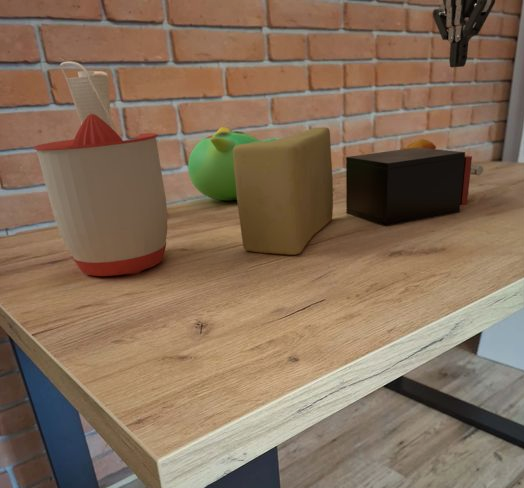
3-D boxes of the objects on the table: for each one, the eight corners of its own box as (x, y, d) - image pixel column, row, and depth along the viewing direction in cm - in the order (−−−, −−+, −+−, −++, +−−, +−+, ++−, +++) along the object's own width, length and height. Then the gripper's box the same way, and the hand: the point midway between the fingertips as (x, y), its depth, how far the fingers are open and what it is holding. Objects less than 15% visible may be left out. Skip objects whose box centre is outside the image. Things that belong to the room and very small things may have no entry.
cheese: (303, 217, 92) (300, 127, 85) (355, 219, 87) (355, 124, 80) (239, 252, 75) (228, 143, 68) (299, 257, 70) (293, 140, 64)
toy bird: (250, 189, 123) (244, 123, 116) (289, 197, 110) (285, 123, 103) (181, 201, 115) (171, 131, 109) (214, 211, 102) (205, 132, 96)
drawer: (445, 191, 98) (448, 148, 94) (489, 200, 88) (495, 152, 85) (362, 206, 92) (363, 160, 89) (400, 217, 83) (402, 166, 79)
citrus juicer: (195, 245, 80) (175, 105, 71) (152, 283, 65) (120, 112, 56) (105, 247, 84) (75, 114, 74) (44, 284, 68) (-3, 122, 59)
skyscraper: (98, 228, 97) (61, 60, 84) (93, 221, 104) (57, 64, 91) (142, 221, 100) (112, 57, 87) (134, 214, 106) (105, 61, 94)
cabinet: (413, 201, 97) (416, 147, 92) (459, 212, 86) (465, 152, 82) (346, 213, 92) (346, 157, 88) (385, 226, 82) (388, 163, 77)
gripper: (518, -68, 77) (502, 62, 85) (458, -46, 89) (449, 68, 96) (478, -69, 75) (466, 65, 83) (422, -45, 86) (416, 71, 94)
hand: (457, 66), depth 90 cm, fingers closed
